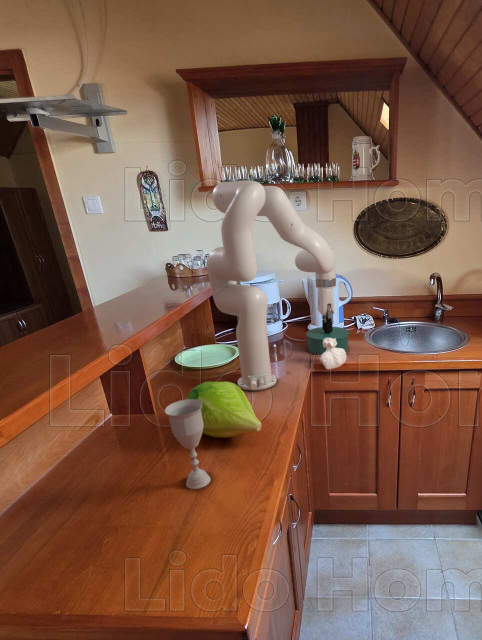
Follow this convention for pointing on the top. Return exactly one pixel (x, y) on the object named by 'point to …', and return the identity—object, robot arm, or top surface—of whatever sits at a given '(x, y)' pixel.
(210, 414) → the lettuce
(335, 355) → the white lumpy round piece
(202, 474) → the chalice
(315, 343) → the pot
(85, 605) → the top surface
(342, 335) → the lid
